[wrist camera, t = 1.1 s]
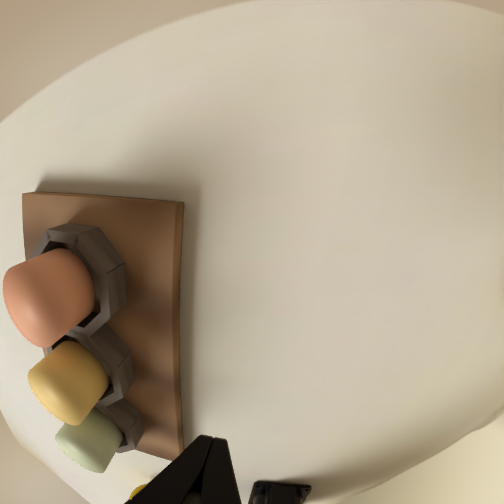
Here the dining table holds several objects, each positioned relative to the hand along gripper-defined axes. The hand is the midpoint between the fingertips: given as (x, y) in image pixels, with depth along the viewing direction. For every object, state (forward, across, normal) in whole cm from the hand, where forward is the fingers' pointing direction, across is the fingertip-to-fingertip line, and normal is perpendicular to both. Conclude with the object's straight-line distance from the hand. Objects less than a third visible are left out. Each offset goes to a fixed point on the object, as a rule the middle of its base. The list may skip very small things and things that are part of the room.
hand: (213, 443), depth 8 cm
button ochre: (+8, +12, +7) cm, 16 cm away
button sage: (+8, +12, +14) cm, 20 cm away
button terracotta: (+8, +12, 0) cm, 15 cm away
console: (+12, +12, +7) cm, 18 cm away
